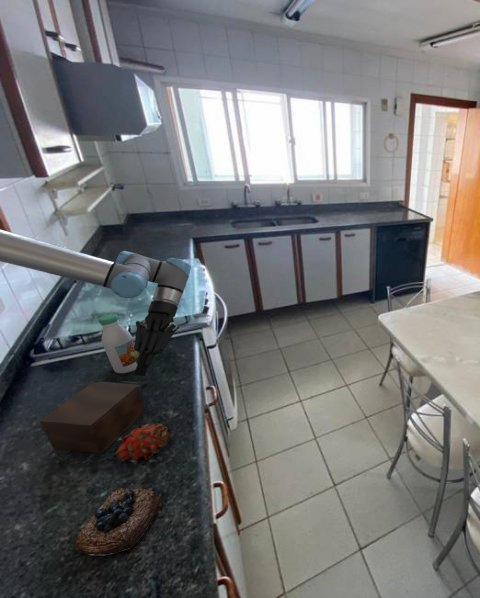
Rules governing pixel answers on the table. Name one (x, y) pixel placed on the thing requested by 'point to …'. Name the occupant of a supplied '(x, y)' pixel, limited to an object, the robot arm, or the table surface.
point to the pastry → (119, 521)
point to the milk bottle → (118, 344)
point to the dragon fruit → (143, 442)
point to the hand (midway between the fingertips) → (139, 375)
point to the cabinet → (93, 417)
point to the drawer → (138, 384)
